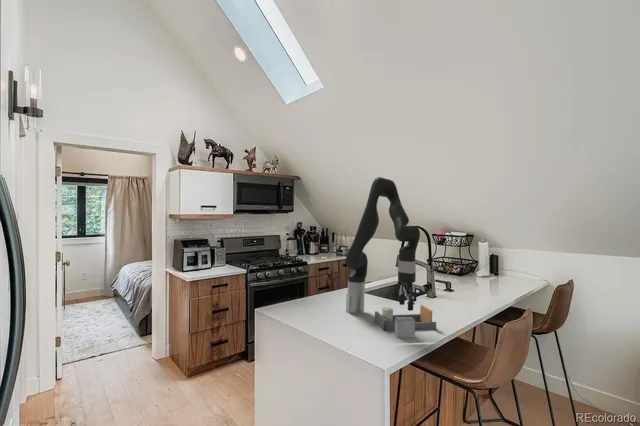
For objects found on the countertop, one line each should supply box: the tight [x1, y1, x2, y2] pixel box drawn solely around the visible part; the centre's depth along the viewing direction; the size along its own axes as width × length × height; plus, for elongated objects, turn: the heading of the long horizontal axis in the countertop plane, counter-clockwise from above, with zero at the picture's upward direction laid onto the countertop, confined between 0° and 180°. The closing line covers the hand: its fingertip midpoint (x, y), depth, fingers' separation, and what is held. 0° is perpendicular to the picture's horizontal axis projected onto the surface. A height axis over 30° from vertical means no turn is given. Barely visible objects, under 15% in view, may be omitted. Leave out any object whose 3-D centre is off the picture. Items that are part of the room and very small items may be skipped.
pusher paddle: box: [419, 304, 433, 322], centre depth 160 cm, size 1×10×8 cm, turn 10°
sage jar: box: [381, 307, 394, 323], centre depth 157 cm, size 5×5×8 cm
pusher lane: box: [374, 310, 437, 332], centre depth 158 cm, size 26×12×6 cm, turn 100°
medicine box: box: [394, 317, 416, 339], centre depth 144 cm, size 8×4×9 cm, turn 92°
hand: (406, 307), depth 144 cm, fingers open, 8 cm apart
